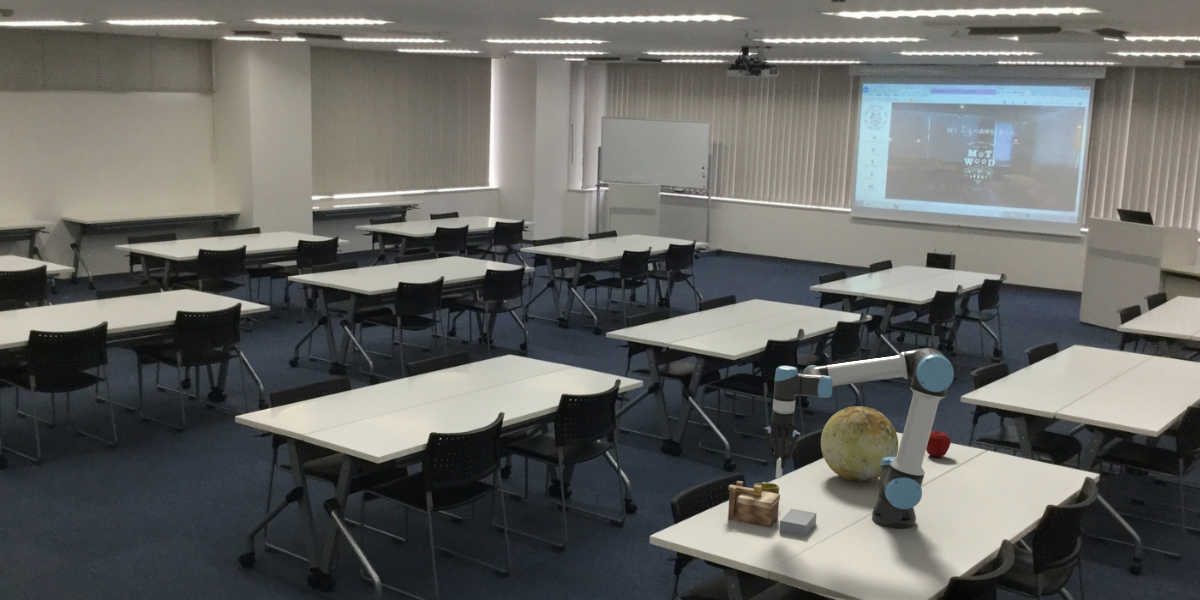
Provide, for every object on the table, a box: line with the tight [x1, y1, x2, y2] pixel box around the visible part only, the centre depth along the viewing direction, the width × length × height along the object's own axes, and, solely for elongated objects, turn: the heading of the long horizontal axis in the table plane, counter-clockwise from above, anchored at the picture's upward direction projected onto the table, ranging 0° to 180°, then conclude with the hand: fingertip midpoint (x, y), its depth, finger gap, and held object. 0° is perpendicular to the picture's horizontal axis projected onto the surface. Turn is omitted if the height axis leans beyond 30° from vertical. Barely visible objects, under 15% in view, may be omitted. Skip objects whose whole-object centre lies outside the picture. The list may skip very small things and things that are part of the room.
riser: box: [779, 508, 817, 538], centre depth 360 cm, size 9×14×4 cm, turn 154°
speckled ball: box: [820, 405, 899, 483], centre depth 414 cm, size 30×30×30 cm
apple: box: [926, 430, 952, 458], centre depth 451 cm, size 11×11×12 cm
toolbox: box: [727, 480, 780, 528], centre depth 367 cm, size 16×9×12 cm, turn 64°
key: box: [728, 484, 762, 496], centre depth 368 cm, size 12×3×3 cm, turn 64°
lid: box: [738, 491, 781, 509], centre depth 366 cm, size 12×11×3 cm
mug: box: [752, 481, 780, 494], centre depth 382 cm, size 12×10×10 cm
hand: (778, 476), depth 361 cm, fingers closed
